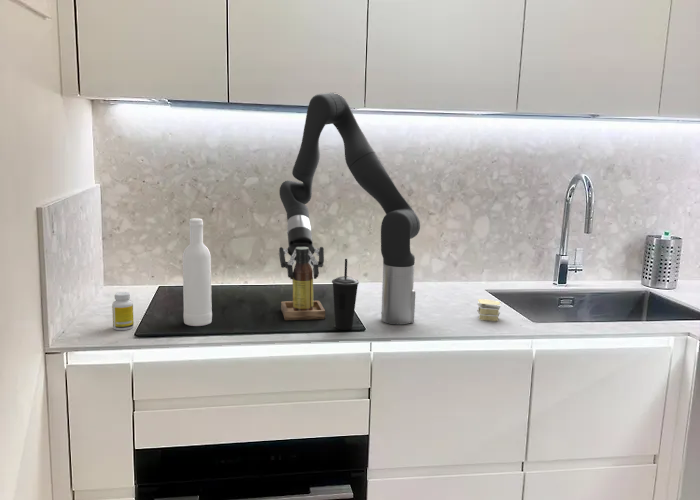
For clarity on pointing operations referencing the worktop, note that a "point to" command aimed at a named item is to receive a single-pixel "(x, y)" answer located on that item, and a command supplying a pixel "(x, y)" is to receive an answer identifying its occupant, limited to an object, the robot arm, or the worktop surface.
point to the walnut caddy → (290, 314)
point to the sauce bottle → (302, 281)
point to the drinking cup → (344, 300)
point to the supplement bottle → (122, 311)
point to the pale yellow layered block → (488, 309)
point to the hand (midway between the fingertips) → (303, 277)
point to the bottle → (197, 278)
